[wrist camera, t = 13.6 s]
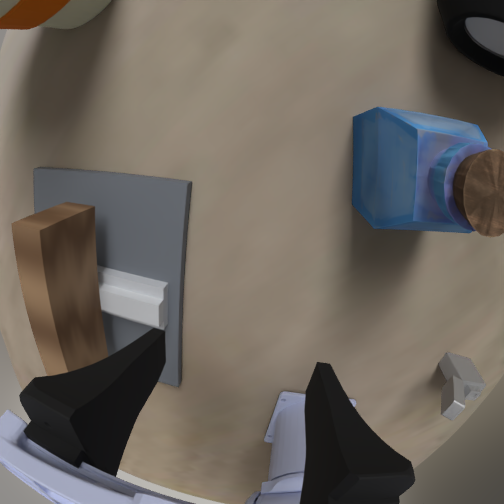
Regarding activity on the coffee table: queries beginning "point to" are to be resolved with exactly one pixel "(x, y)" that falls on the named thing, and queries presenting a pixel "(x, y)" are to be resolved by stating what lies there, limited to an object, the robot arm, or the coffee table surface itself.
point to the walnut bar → (61, 285)
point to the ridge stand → (132, 250)
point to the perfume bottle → (426, 173)
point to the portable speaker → (476, 30)
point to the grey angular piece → (458, 384)
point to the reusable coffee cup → (48, 13)
